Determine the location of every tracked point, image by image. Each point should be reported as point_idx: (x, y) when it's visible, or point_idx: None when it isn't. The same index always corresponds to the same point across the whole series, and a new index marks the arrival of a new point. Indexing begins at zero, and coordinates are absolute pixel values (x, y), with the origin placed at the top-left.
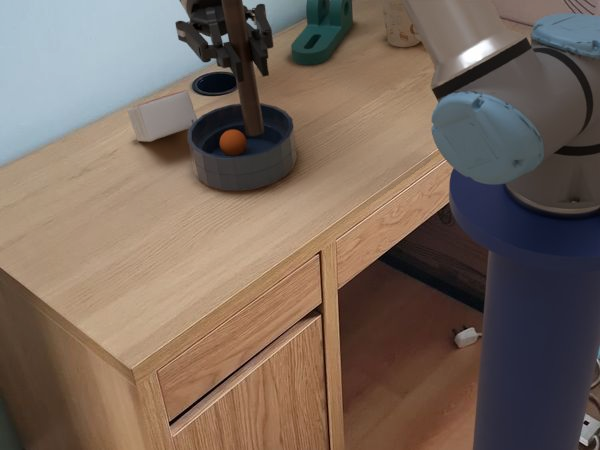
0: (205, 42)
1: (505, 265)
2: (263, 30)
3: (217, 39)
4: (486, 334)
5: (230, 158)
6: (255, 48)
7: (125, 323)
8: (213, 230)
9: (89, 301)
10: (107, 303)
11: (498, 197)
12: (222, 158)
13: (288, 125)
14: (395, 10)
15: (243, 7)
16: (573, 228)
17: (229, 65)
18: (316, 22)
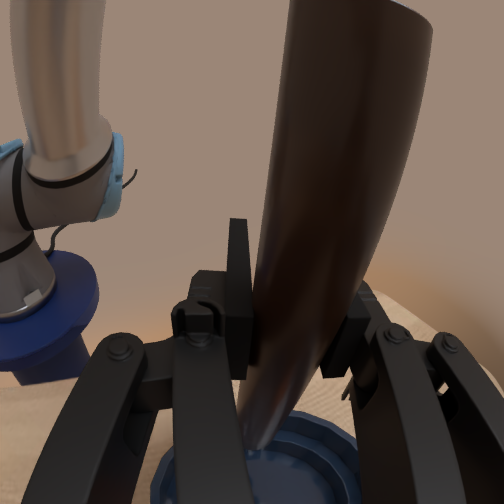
0: (446, 347)
1: (77, 338)
2: (138, 356)
3: (404, 365)
4: None
5: (307, 413)
6: (246, 246)
7: (388, 311)
8: (327, 386)
9: (420, 333)
10: (407, 329)
11: (53, 304)
12: (321, 419)
13: (162, 492)
14: None
15: (273, 137)
16: (57, 268)
17: None
18: None
